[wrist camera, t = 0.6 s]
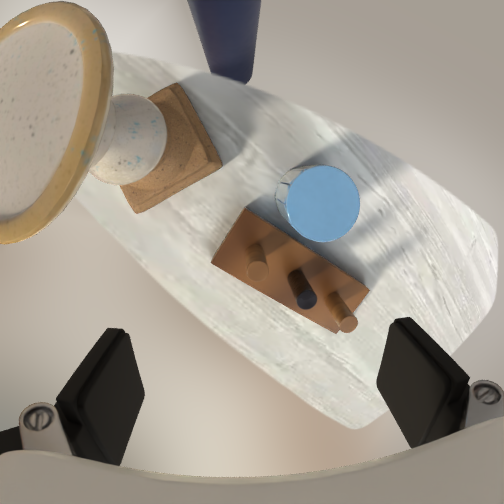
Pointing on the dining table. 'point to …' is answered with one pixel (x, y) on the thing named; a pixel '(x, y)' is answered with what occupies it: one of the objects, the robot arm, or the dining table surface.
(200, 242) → the dining table surface
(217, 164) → the candle holder
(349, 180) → the cup
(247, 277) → the rack
